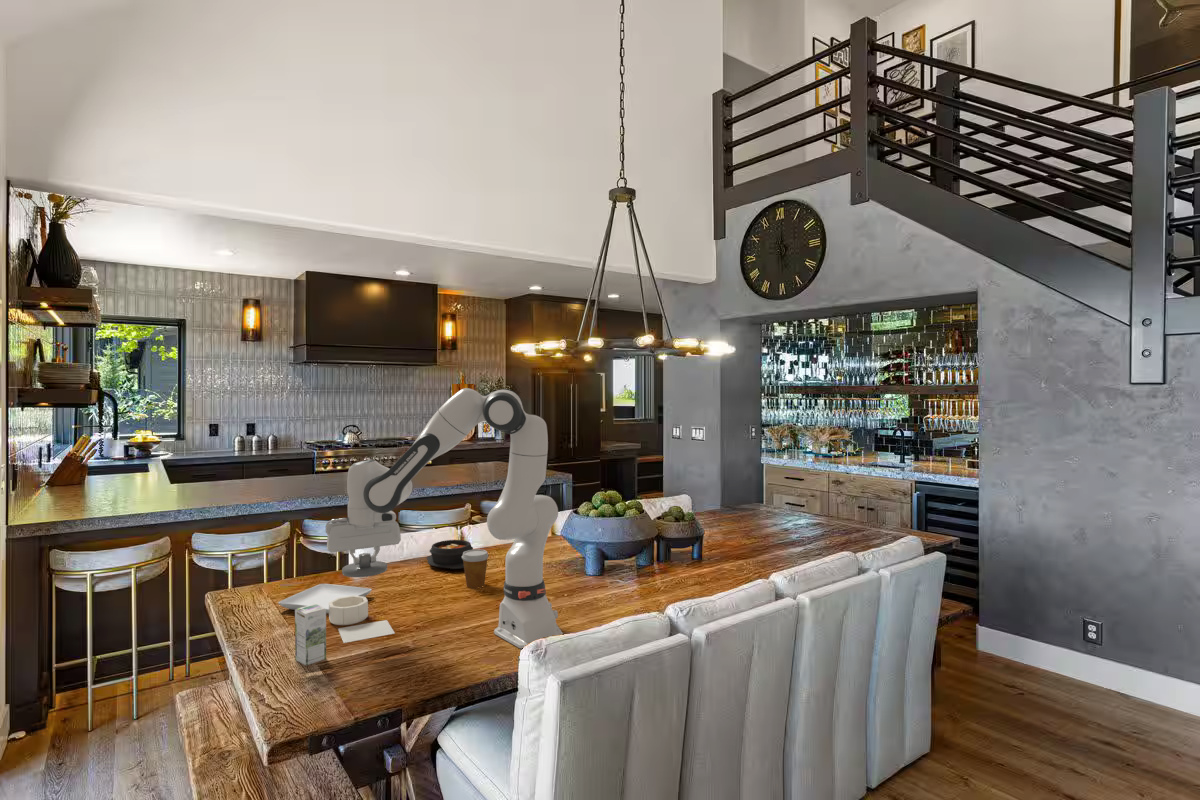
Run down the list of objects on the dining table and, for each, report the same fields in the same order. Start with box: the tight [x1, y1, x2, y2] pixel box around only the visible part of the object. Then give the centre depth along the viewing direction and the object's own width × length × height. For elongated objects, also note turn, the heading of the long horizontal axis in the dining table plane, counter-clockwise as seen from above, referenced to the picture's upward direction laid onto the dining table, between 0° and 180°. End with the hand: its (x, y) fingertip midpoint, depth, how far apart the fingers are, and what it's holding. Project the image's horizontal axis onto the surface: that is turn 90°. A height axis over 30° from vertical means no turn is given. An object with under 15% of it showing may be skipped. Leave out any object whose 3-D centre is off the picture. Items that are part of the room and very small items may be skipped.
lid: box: [341, 552, 388, 578], centre depth 192 cm, size 12×12×5 cm
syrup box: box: [294, 604, 327, 666], centre depth 174 cm, size 6×6×14 cm
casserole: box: [426, 539, 474, 570], centre depth 263 cm, size 25×19×8 cm
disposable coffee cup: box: [462, 549, 490, 589], centre depth 237 cm, size 10×10×12 cm
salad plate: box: [277, 583, 372, 615], centre depth 219 cm, size 21×21×3 cm
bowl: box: [328, 596, 369, 626], centre depth 203 cm, size 11×11×6 cm
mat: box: [337, 619, 396, 644], centre depth 193 cm, size 12×14×1 cm
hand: (364, 563), depth 192 cm, fingers closed on lid, 3 cm apart
